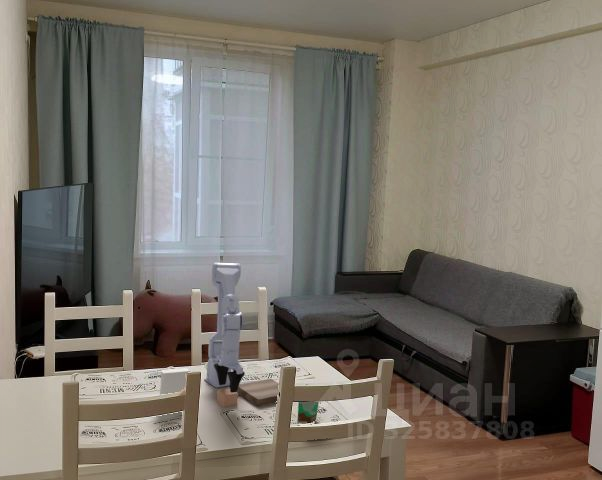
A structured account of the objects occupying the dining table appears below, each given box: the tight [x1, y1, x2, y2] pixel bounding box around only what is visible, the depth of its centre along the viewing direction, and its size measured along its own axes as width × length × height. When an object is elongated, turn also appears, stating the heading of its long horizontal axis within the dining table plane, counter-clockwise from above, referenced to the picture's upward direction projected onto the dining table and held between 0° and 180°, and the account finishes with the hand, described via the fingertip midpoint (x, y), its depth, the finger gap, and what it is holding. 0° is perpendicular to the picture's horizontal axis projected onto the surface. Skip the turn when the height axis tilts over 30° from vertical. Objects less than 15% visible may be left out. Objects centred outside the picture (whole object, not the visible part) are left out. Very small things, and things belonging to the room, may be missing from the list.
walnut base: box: [237, 378, 280, 407], centre depth 213 cm, size 15×15×2 cm
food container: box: [296, 384, 320, 423], centre depth 194 cm, size 12×6×10 cm, turn 168°
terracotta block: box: [216, 387, 239, 408], centre depth 204 cm, size 5×5×4 cm
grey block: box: [159, 367, 191, 396], centre depth 198 cm, size 9×9×12 cm
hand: (227, 388), depth 204 cm, fingers open, 7 cm apart
